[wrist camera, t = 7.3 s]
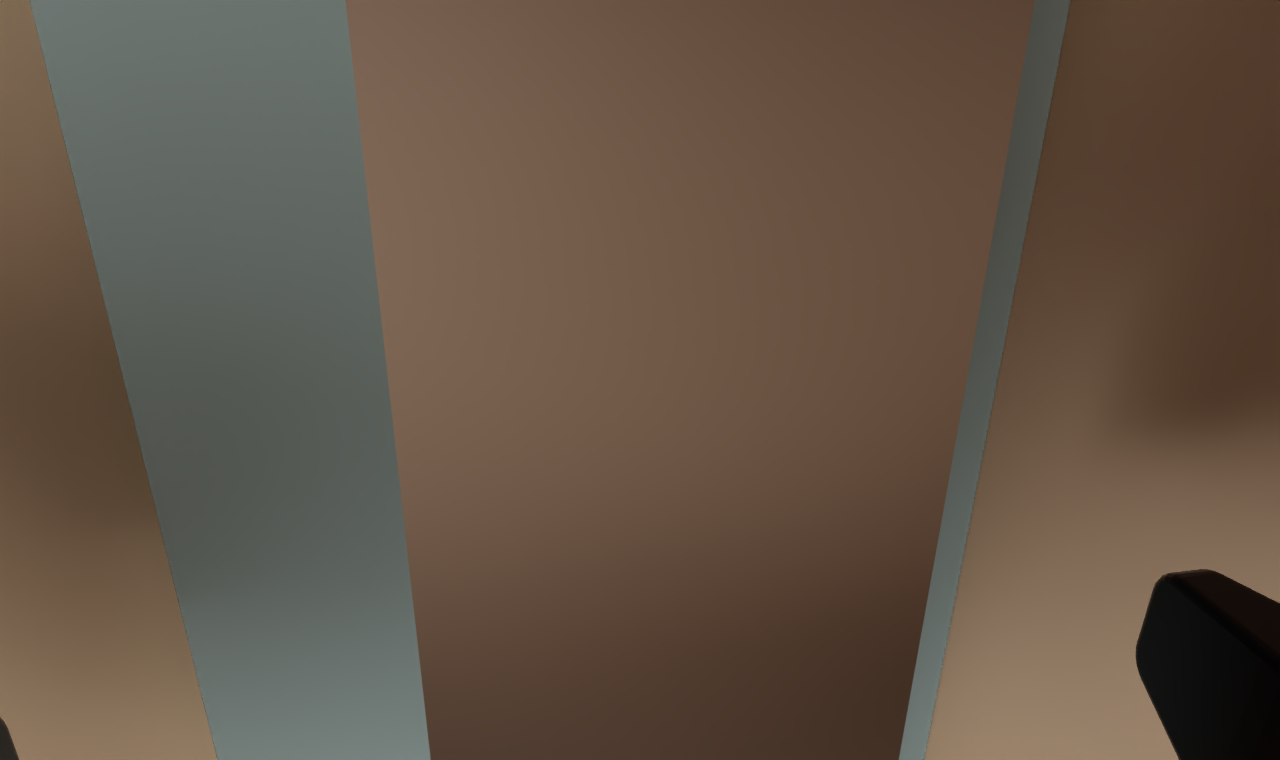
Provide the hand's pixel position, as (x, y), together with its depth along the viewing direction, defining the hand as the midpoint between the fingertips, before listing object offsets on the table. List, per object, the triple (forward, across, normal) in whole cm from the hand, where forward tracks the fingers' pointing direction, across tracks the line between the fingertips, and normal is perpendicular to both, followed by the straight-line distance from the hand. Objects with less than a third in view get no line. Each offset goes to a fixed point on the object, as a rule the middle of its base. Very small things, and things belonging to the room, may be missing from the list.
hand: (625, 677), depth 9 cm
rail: (+1, 0, 0) cm, 1 cm away
